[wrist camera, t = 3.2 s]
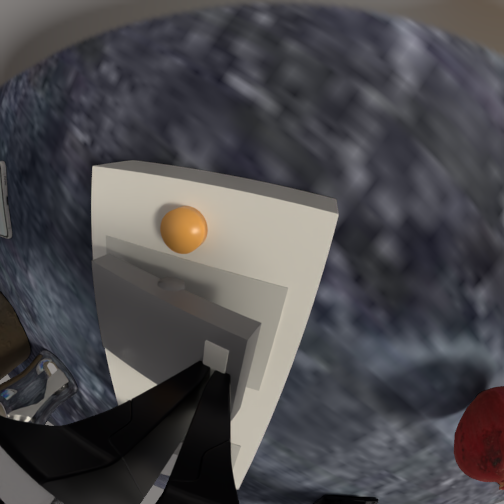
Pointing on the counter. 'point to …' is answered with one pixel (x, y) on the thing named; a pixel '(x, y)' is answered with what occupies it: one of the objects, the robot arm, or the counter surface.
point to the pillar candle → (11, 339)
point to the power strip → (220, 264)
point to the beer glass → (37, 390)
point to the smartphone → (4, 205)
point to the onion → (482, 438)
